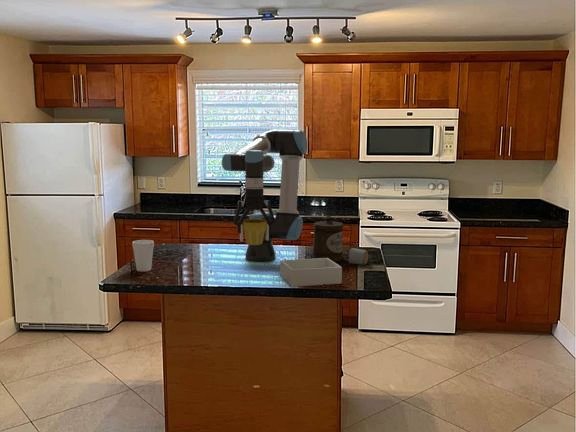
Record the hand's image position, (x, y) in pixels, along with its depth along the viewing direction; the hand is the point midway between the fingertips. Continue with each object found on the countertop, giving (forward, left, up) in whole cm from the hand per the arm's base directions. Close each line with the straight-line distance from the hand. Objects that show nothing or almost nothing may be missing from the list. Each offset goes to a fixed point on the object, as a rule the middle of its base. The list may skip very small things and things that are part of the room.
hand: (254, 240), depth 228 cm
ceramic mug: (-20, +56, -18) cm, 62 cm away
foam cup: (-30, -45, -18) cm, 57 cm away
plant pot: (0, 0, -2) cm, 2 cm away
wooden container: (-34, +45, -18) cm, 59 cm away
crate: (+3, +24, -18) cm, 30 cm away
